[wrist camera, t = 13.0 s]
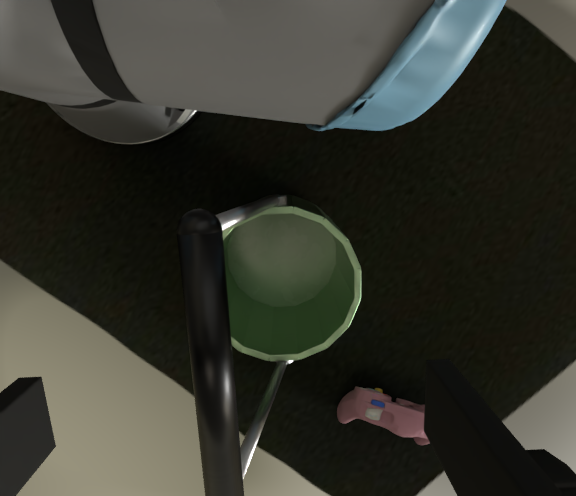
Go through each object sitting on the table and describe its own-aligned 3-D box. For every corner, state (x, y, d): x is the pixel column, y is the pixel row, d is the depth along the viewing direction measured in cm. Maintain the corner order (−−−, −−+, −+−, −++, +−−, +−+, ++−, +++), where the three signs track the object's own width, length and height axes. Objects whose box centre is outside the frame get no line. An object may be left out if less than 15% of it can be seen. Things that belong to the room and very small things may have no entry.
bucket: (228, 323, 37) (151, 538, 15) (217, 184, 34) (103, 215, 13) (341, 318, 37) (418, 527, 15) (339, 178, 34) (430, 201, 13)
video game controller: (427, 398, 40) (466, 410, 34) (420, 443, 39) (459, 465, 32) (341, 372, 40) (363, 380, 33) (330, 418, 39) (351, 435, 32)
